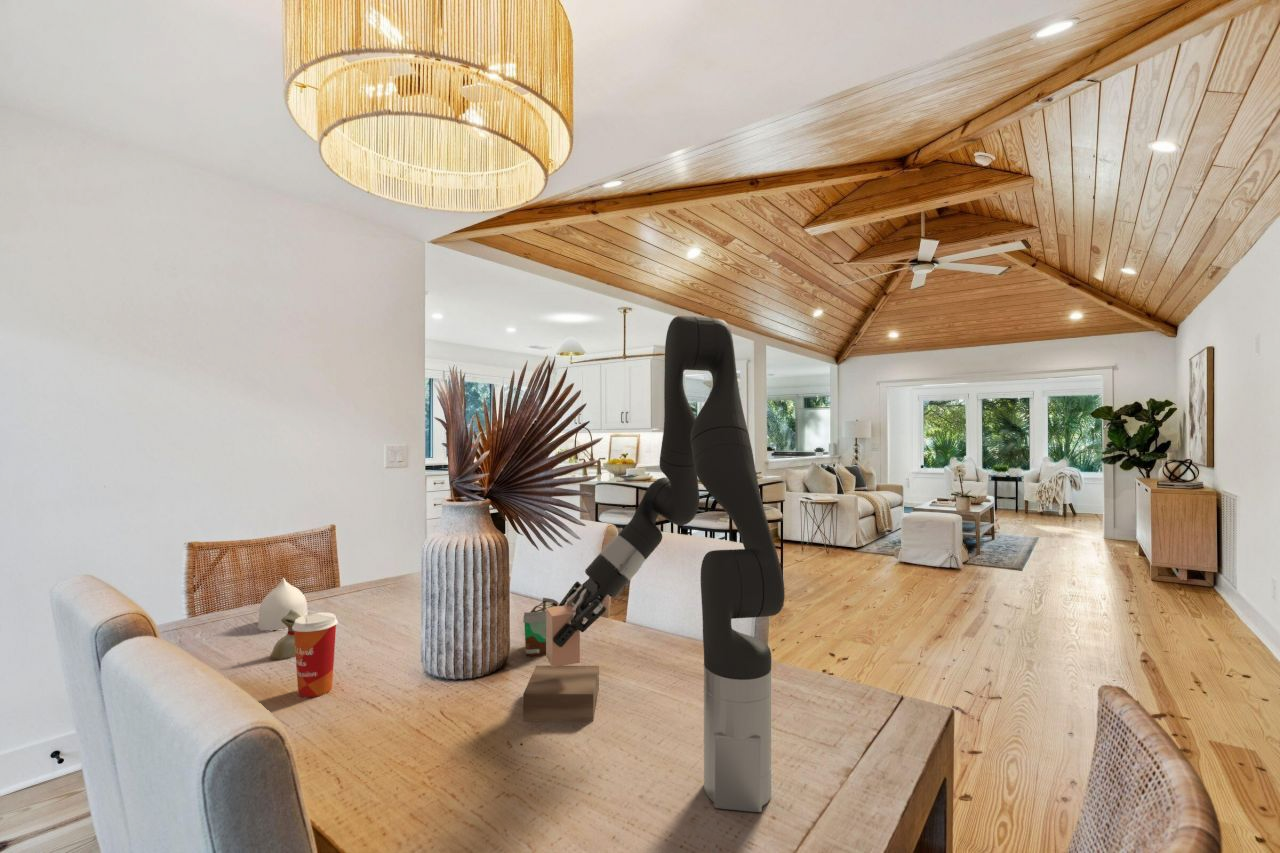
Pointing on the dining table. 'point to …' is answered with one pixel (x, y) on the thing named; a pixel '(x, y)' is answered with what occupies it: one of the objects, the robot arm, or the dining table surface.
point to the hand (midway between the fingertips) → (552, 638)
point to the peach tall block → (554, 623)
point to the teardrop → (280, 606)
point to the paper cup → (315, 653)
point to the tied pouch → (286, 639)
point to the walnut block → (561, 693)
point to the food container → (537, 628)
